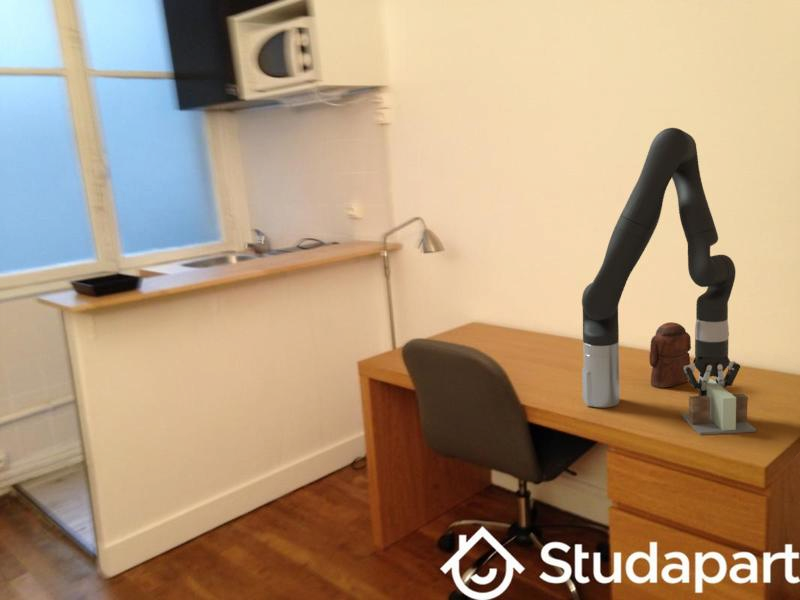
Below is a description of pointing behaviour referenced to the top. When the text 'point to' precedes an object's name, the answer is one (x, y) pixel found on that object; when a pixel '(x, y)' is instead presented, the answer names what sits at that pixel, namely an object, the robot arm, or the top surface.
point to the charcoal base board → (714, 429)
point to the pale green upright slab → (721, 406)
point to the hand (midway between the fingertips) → (710, 402)
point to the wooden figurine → (669, 355)
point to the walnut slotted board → (701, 409)
